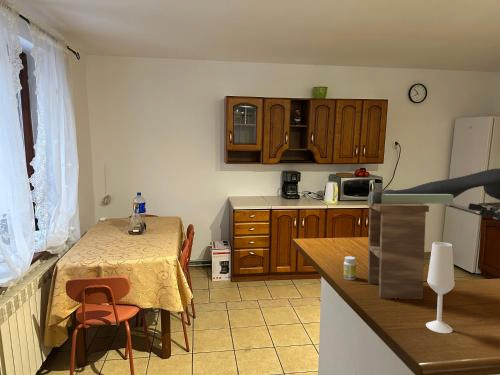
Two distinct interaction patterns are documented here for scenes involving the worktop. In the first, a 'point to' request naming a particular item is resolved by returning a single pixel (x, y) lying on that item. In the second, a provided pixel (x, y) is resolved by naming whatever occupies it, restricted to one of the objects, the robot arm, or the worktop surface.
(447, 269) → the champagne flute
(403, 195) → the capped bar
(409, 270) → the walnut shelf
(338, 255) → the worktop surface
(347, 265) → the supplement bottle
